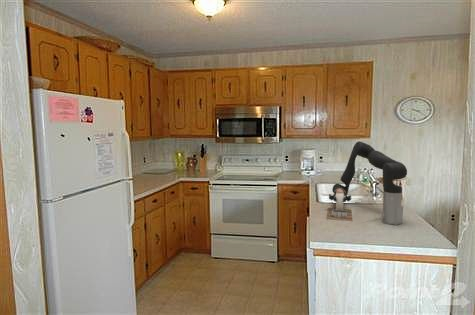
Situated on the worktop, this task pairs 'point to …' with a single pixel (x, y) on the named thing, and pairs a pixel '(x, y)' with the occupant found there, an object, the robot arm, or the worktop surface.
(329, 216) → the jig board
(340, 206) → the cylinder
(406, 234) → the worktop surface
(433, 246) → the worktop surface
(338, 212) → the socket collar
